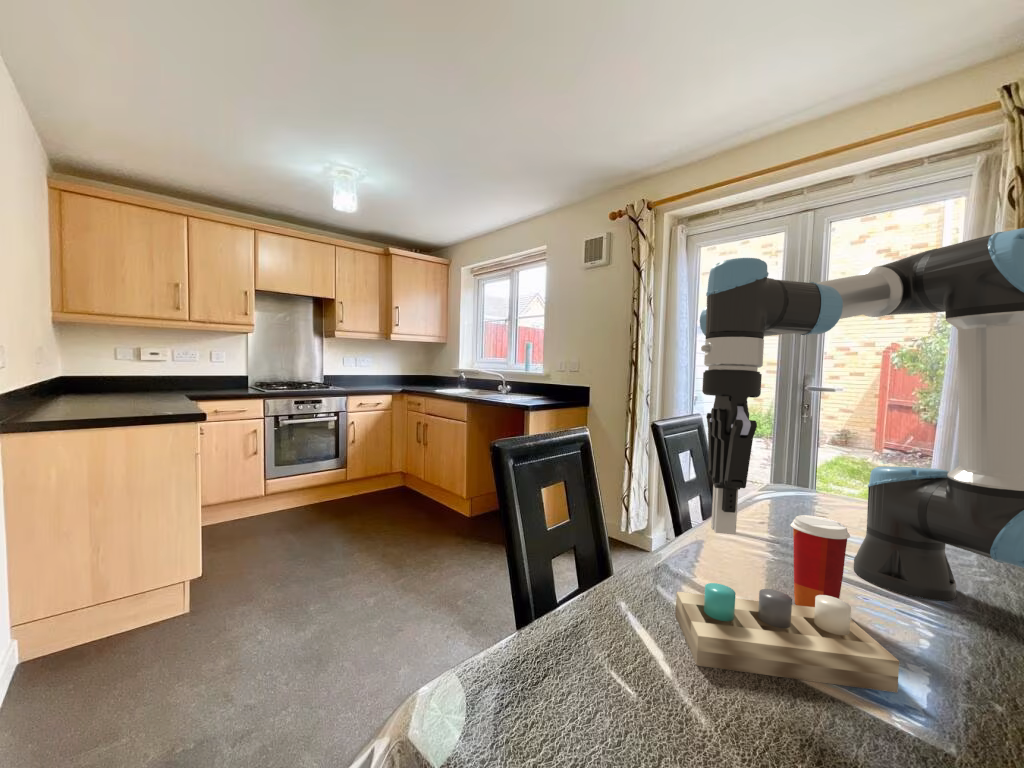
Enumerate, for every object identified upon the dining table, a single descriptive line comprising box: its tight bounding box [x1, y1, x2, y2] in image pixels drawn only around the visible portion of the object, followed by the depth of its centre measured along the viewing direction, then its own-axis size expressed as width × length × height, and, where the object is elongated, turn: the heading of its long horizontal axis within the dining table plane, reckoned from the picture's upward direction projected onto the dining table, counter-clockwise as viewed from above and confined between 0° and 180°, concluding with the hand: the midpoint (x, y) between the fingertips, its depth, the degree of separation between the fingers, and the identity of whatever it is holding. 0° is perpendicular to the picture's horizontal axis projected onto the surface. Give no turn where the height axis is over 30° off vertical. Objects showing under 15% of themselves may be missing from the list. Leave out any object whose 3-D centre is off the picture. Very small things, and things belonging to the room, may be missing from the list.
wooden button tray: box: [675, 591, 900, 694], centre depth 61 cm, size 24×12×4 cm, turn 82°
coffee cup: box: [790, 514, 851, 607], centre depth 73 cm, size 8×8×15 cm
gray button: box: [758, 588, 793, 628], centre depth 61 cm, size 4×4×4 cm
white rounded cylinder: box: [814, 595, 852, 635], centre depth 60 cm, size 4×4×4 cm
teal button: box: [704, 582, 736, 621], centre depth 62 cm, size 4×4×4 cm
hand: (723, 530), depth 62 cm, fingers closed
